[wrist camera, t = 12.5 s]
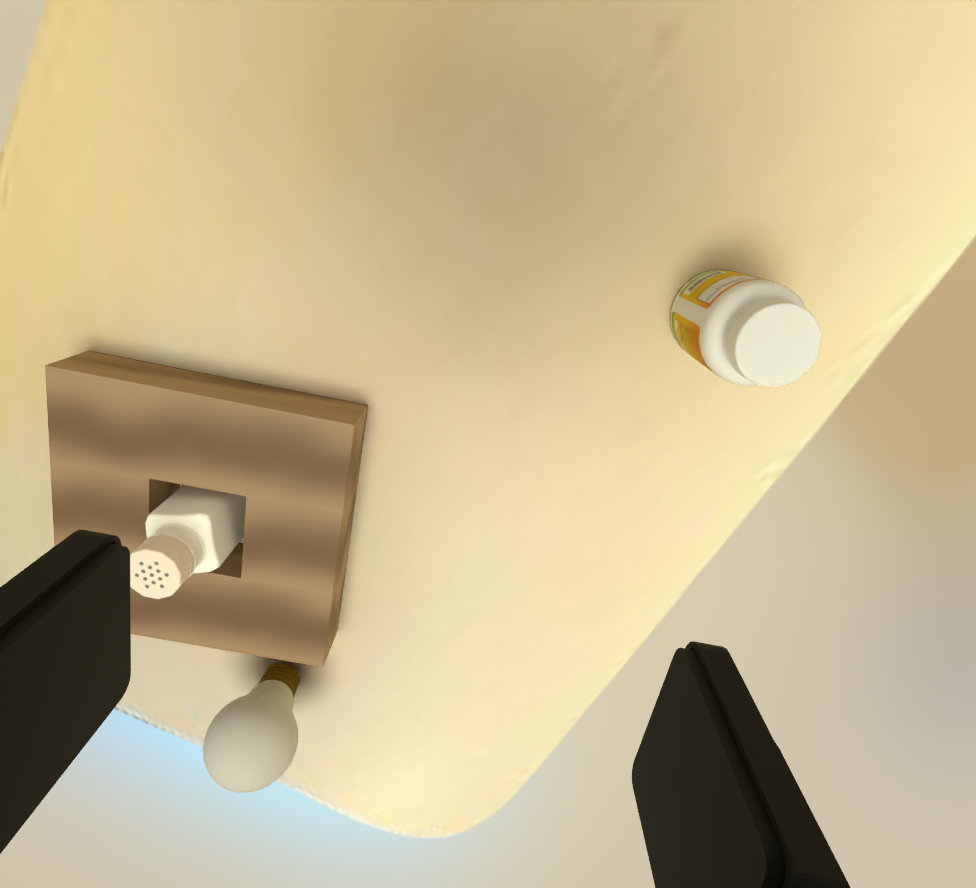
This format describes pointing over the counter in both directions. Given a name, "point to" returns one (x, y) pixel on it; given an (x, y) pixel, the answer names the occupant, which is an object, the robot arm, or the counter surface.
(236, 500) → the pepper shaker
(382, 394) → the counter surface
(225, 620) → the socket block
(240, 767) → the light bulb
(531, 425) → the counter surface
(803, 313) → the supplement bottle
